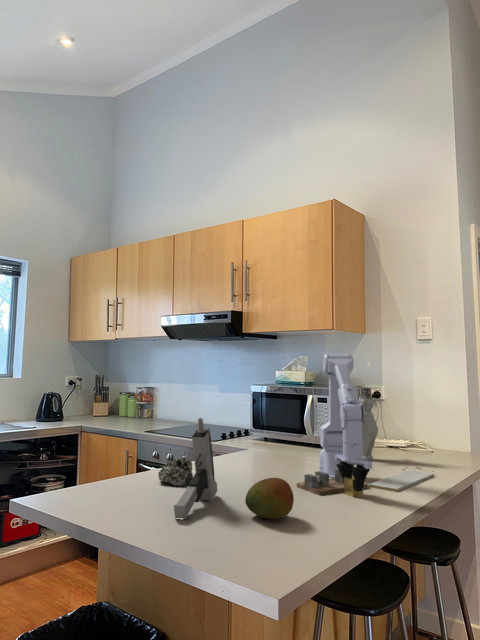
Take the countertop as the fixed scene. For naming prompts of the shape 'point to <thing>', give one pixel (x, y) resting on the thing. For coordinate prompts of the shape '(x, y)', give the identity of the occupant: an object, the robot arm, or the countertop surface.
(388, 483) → the baseboard molding
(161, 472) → the rock
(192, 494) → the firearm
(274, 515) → the fruit
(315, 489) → the shaft base
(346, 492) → the block
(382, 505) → the countertop surface
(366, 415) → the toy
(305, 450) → the countertop surface
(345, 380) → the robot arm
